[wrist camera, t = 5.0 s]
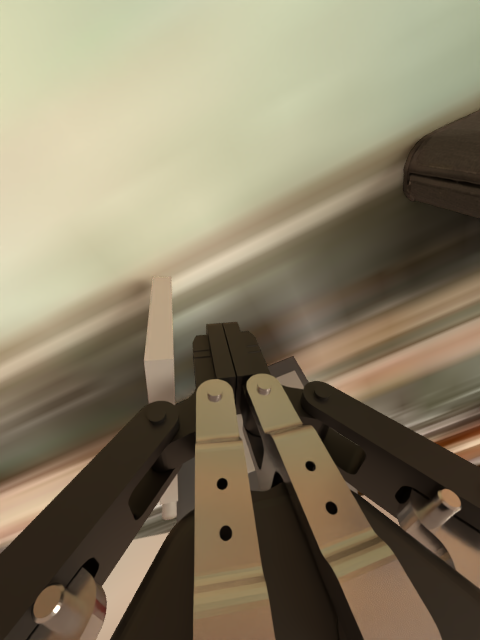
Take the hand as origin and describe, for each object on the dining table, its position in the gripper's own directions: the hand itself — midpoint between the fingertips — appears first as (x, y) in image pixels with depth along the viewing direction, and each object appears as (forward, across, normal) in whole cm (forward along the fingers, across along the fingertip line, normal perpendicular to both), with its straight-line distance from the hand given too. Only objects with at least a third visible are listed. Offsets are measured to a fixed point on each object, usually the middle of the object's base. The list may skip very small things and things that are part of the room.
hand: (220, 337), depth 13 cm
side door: (+5, +3, +4) cm, 7 cm away
